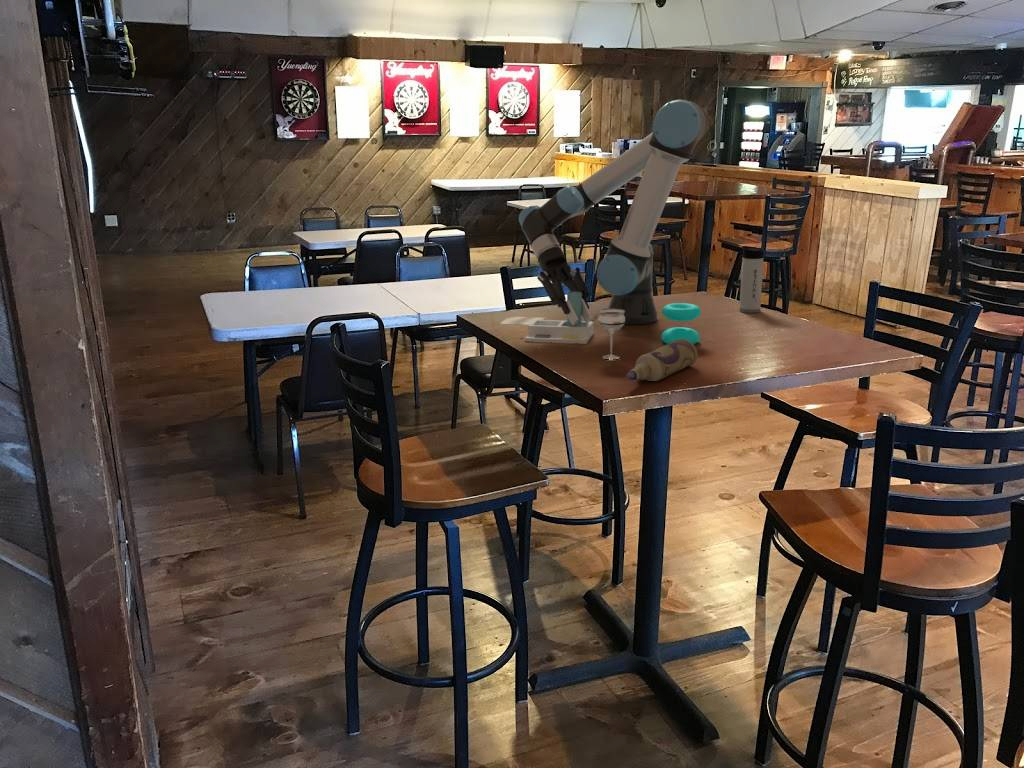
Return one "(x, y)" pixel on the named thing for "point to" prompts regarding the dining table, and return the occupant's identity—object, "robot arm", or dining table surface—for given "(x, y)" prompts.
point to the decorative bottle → (663, 361)
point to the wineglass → (611, 325)
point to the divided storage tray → (559, 332)
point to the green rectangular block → (575, 307)
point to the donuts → (680, 314)
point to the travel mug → (751, 279)
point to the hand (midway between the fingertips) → (582, 321)
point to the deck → (520, 320)
